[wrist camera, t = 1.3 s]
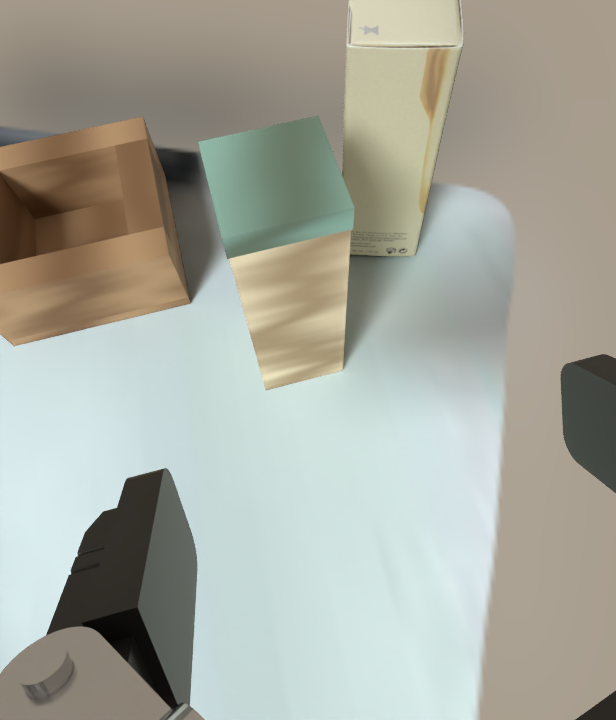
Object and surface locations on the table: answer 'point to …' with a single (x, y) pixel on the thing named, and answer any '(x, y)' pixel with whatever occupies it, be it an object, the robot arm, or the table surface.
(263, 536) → the table surface
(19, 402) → the table surface
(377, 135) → the skincare box
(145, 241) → the socket block
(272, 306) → the peg
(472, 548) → the table surface
